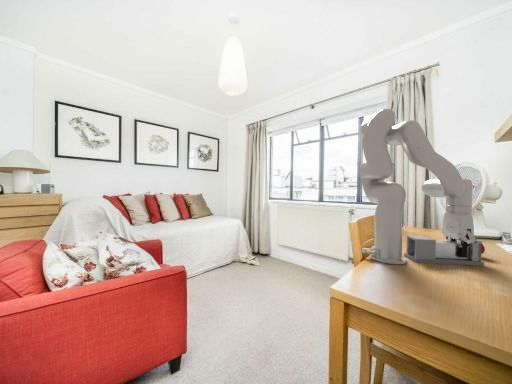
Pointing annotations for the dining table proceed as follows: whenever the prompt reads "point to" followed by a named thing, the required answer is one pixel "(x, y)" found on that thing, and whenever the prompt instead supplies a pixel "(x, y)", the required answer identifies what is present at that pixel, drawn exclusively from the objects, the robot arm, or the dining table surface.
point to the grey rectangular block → (449, 250)
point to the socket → (475, 251)
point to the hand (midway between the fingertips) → (457, 255)
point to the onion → (481, 247)
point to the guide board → (430, 252)
